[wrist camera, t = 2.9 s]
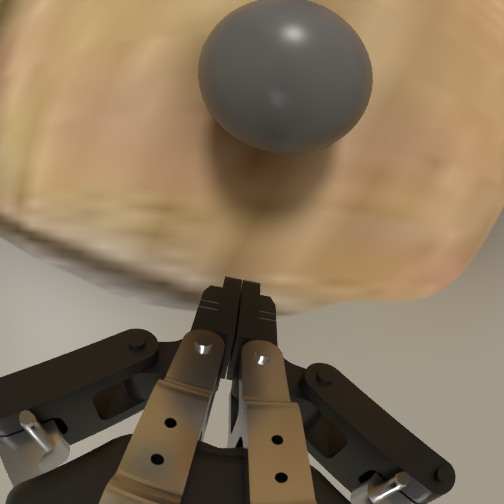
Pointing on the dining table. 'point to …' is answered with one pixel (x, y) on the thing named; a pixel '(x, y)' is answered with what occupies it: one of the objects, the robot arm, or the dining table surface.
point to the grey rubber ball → (285, 75)
